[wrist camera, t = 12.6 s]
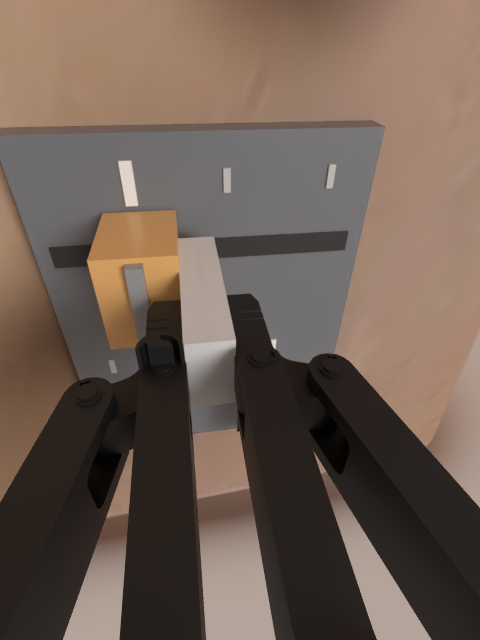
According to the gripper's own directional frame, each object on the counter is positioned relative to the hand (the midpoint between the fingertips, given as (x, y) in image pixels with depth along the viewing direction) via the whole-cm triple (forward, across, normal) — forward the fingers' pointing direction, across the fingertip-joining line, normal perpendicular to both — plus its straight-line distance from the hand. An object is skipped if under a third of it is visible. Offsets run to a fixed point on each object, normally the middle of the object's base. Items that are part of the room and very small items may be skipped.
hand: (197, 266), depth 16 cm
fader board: (+3, 0, -4) cm, 5 cm away
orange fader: (+1, -2, 0) cm, 3 cm away
